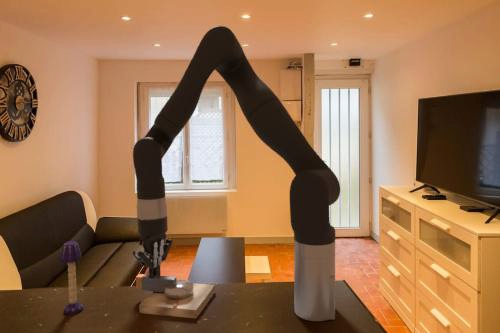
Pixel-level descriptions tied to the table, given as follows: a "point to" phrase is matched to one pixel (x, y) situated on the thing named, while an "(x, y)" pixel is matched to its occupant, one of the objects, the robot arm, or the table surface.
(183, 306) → the board
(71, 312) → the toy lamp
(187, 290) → the orange-tipped lever
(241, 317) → the table surface
